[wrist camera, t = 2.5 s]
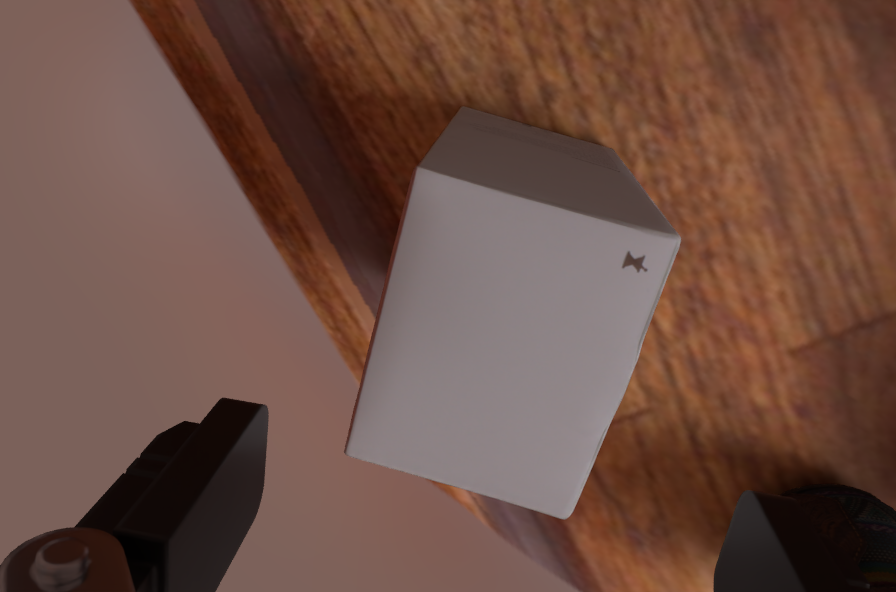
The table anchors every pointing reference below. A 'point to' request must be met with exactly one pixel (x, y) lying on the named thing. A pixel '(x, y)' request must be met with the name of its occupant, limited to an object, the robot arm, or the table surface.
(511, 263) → the small box
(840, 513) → the mate gourd
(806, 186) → the table surface
